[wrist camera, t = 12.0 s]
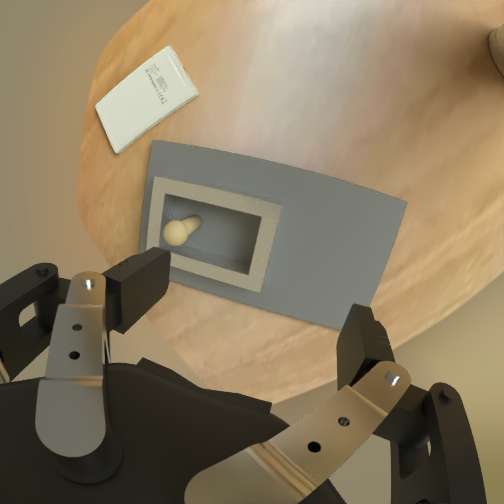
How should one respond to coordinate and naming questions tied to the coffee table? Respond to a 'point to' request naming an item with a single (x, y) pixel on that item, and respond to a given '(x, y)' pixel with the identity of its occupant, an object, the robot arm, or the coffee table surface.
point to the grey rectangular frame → (208, 262)
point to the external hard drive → (145, 99)
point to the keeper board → (281, 232)
